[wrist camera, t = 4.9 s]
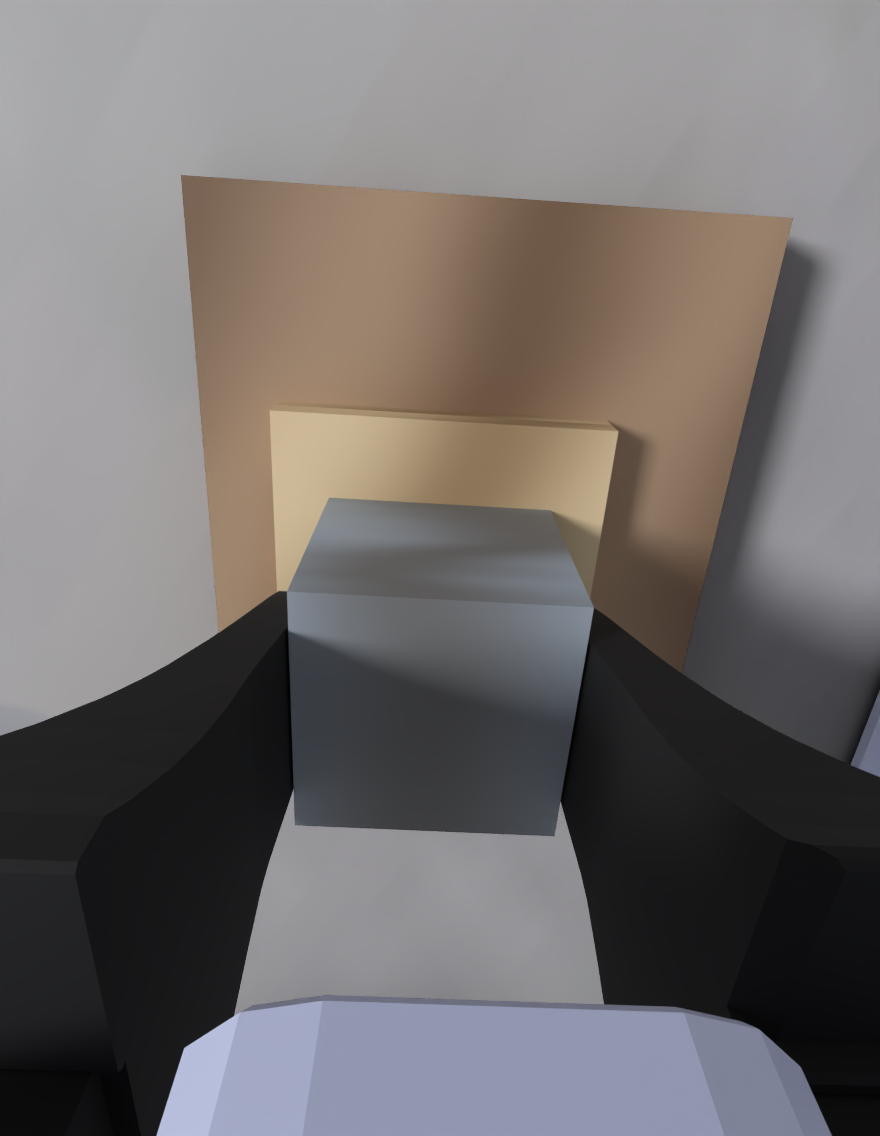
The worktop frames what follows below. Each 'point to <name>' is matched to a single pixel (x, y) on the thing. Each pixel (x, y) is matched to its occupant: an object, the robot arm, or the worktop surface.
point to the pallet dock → (484, 353)
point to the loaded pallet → (435, 609)
